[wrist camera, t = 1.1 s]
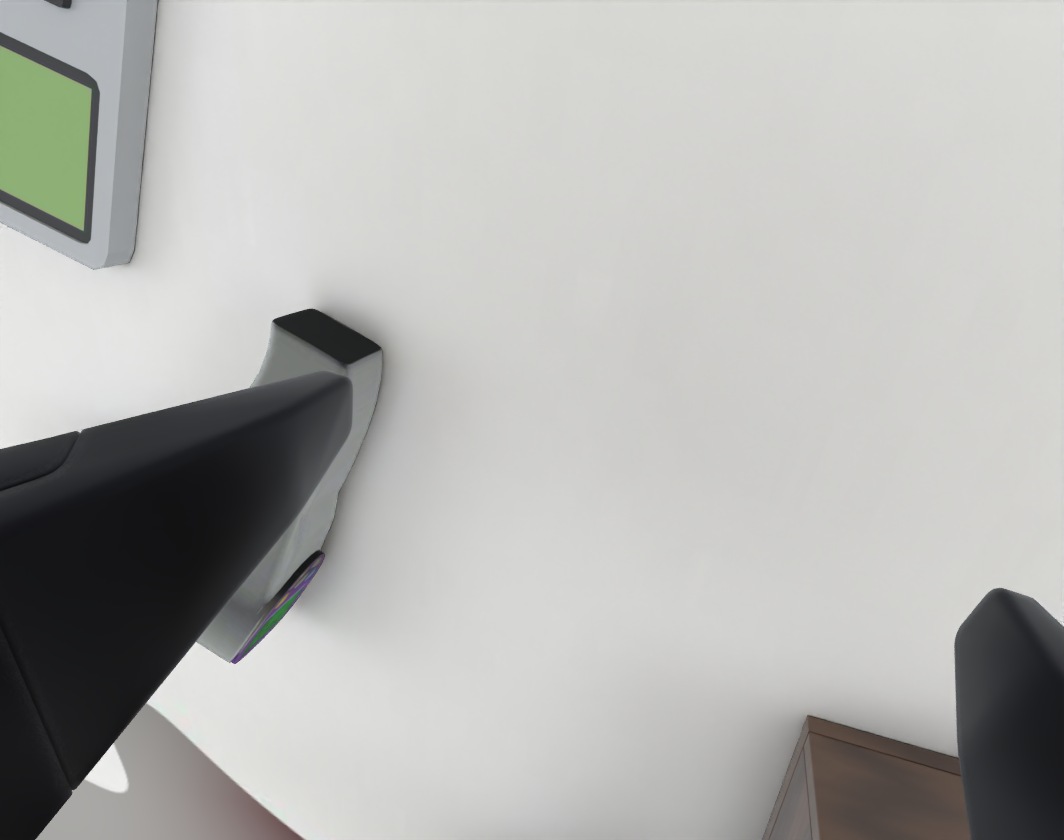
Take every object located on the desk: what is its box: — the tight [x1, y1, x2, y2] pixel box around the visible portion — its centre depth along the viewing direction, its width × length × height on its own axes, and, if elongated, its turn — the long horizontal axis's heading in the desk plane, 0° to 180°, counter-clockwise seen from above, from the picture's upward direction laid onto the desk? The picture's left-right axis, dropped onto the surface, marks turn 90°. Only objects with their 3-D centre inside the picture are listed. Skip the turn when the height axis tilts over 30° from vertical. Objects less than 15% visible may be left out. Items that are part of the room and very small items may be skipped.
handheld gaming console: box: [0, 0, 158, 270], centre depth 24 cm, size 10×2×15 cm
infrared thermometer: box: [196, 309, 383, 664], centre depth 27 cm, size 5×12×15 cm
